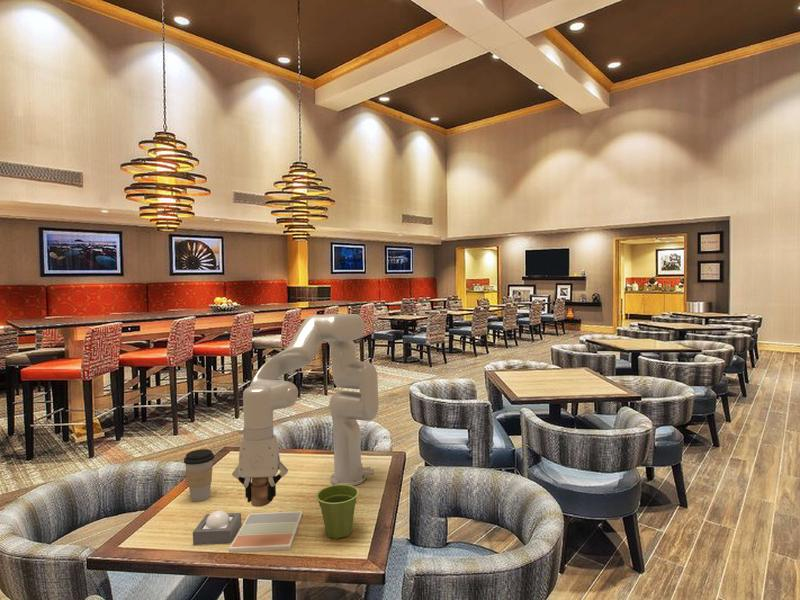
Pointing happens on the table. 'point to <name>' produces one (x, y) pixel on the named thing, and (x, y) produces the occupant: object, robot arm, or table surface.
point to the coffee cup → (199, 473)
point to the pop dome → (217, 520)
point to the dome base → (217, 531)
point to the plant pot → (338, 509)
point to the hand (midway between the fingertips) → (260, 499)
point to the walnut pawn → (260, 492)
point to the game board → (267, 532)
